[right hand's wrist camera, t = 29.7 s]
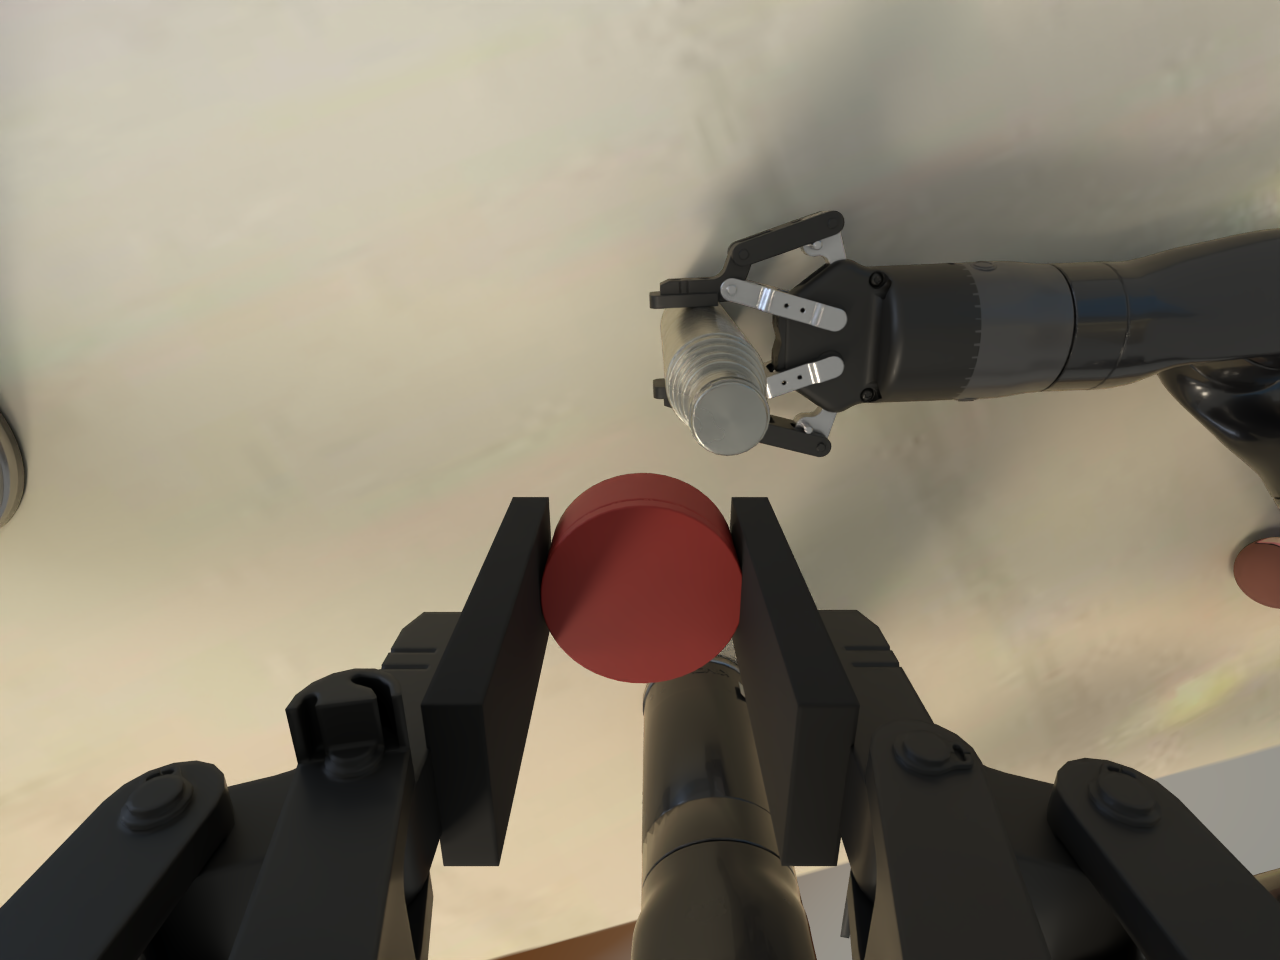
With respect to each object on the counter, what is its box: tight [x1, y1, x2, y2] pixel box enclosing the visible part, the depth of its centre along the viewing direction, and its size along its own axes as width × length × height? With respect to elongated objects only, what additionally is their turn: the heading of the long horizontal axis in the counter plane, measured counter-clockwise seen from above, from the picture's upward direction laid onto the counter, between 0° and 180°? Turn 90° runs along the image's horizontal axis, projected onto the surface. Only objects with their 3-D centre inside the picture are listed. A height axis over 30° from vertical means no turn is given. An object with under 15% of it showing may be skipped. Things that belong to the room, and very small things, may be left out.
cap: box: [540, 473, 742, 683], centre depth 14 cm, size 4×4×2 cm
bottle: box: [661, 302, 770, 456], centre depth 35 cm, size 4×4×22 cm
